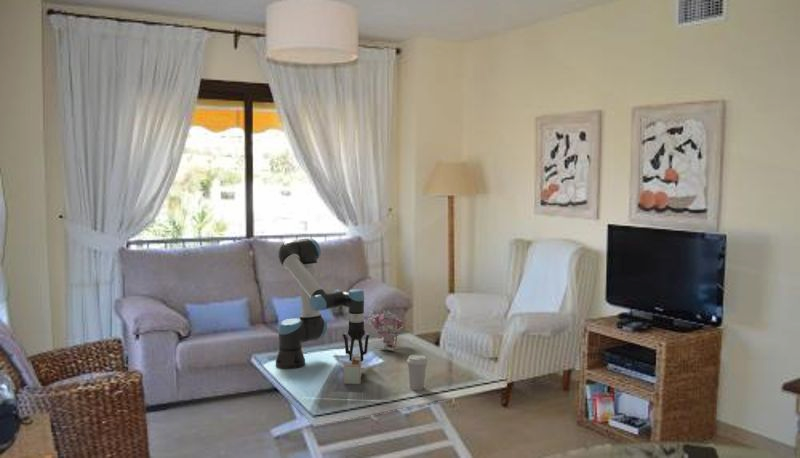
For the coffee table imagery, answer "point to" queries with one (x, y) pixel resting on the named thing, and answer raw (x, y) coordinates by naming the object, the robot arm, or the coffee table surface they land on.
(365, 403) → the coffee table surface
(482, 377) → the coffee table surface
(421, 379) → the coffee cup
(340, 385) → the mat
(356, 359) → the tapered wooden block
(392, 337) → the flower
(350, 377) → the tile
